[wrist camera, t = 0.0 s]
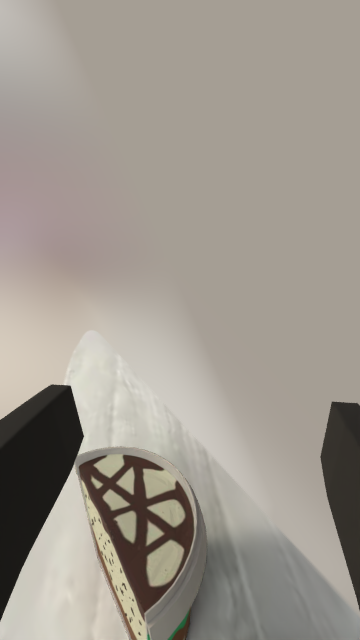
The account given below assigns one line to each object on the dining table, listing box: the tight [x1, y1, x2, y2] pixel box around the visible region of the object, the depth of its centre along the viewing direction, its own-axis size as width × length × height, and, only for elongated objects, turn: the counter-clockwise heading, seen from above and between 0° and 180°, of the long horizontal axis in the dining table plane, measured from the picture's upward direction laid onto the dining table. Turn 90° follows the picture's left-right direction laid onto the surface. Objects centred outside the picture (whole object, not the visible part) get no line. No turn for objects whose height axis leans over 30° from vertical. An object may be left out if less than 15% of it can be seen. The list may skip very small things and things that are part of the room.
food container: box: [74, 447, 207, 640], centre depth 23 cm, size 12×6×10 cm, turn 32°
